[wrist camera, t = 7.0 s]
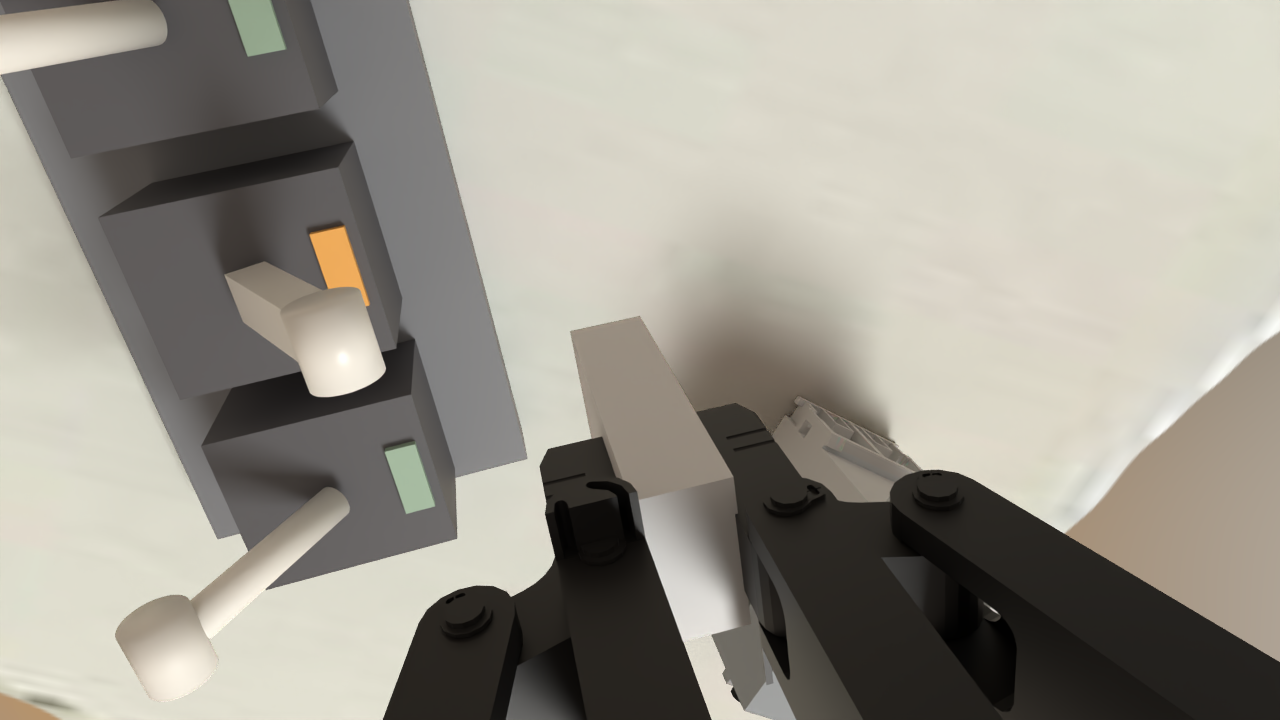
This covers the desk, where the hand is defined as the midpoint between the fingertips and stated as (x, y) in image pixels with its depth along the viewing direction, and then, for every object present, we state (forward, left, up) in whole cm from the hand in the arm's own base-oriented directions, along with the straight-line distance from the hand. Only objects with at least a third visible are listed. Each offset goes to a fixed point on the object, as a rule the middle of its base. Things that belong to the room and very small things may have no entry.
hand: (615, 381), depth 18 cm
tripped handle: (+10, 0, -15) cm, 18 cm away
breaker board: (+10, 0, -24) cm, 26 cm away
